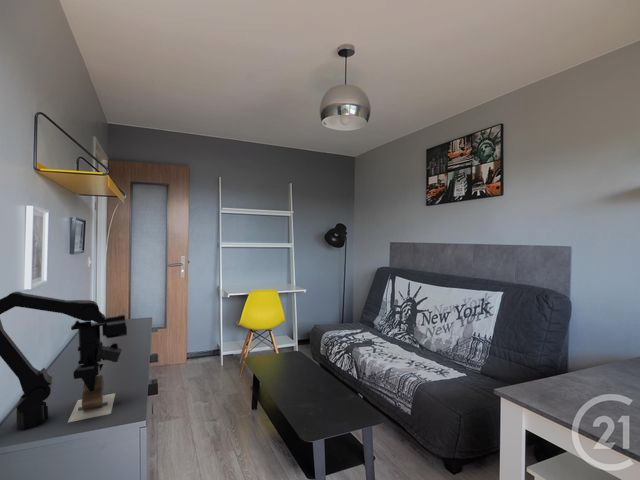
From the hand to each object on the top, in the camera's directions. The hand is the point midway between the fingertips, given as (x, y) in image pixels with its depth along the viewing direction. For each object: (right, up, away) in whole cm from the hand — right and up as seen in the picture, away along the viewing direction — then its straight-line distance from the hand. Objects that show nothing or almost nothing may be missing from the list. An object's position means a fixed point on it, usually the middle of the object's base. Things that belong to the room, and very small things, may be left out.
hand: (92, 390), depth 116 cm
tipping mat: (-1, -7, +2) cm, 7 cm away
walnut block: (+1, -4, -1) cm, 4 cm away
